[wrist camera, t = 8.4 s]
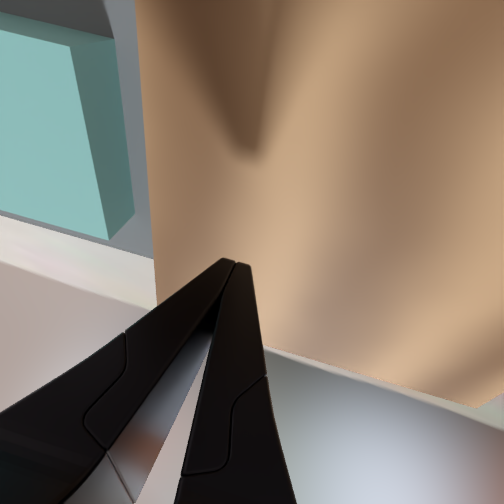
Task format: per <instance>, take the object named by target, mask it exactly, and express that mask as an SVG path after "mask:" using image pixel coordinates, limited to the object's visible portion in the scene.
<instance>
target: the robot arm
mask: <svg viewBox="0 0 504 504" xmlns="http://www.w3.org/2000/svg"><path fill="white" fill-rule="evenodd" d="M208 350H209V353H208V357H207V362H206V366H205V370H204V374H203V379H202V383H201V388H200V392H199V396H198V401H197V405H196V410H195V414H194V418H193V423H192V427H191V431H190V436H189V440H188V444H187V449H186V453H185V457H184V462H183V466H182V470H181V478H180V480H179V484H178V488H177V493H176V496H175V500H174V504H297V503H296V499H295V495H294V491H293V488H292V484H291V480H290V476H289V473H288V469H287V465H286V462H285V458H284V454H283V451H282V447H281V443H280V439H279V435H278V431H277V426H276V422H275V418H274V413H273V407H272V402H271V396H270V390H269V383H268V377H267V376H266V375H267V371H266V364H265V357H264V350H263V343H262V336H261V329H260V323H259V316H258V309H257V302H256V295H255V288H254V281H253V275H252V268H251V265H249V264H246V263H242V262H237V263H236V261H235V260H231V259H228V258H224V257H223V258H220V259H219V260H218V261H216V262H215V263H214V264H212V265H211V266H210V267H208V268H207V269H206V270H204V271H203V272H202V273H200V274H199V275H198V276H196V277H195V278H194V279H192V280H191V281H190V282H189V283H187V284H186V285H185V286H183V287H182V288H181V289H179V290H178V291H177V292H175V293H174V294H173V295H171V296H170V297H169V298H167V299H166V300H165V301H163V302H162V303H161V304H159V305H158V306H157V307H155V308H154V309H153V310H151V311H150V312H149V313H147V314H146V315H145V316H144V317H142V318H141V319H140V320H138V321H137V322H136V323H134V324H133V325H132V326H130V327H129V328H128V329H126V330H125V333H121V334H120V335H118V336H117V337H115V338H114V339H113V340H112V341H110V342H109V343H108V344H106V345H105V346H103V347H102V348H101V349H99V350H98V351H96V352H95V353H94V354H92V355H91V356H89V357H88V358H86V359H85V360H83V361H82V362H80V363H79V364H77V365H76V366H74V367H72V368H71V369H69V370H68V371H66V372H65V373H63V374H62V375H60V376H58V377H57V378H55V379H54V380H52V381H51V382H49V383H47V384H45V385H44V386H42V387H41V388H39V389H37V390H36V391H34V392H32V393H31V394H29V395H28V396H26V397H25V398H23V399H21V400H20V401H18V402H17V403H15V404H13V405H11V406H10V407H8V408H7V409H5V410H3V411H2V412H0V504H134V503H135V502H136V500H137V498H138V496H139V494H140V492H141V490H142V488H143V486H144V484H145V481H146V480H147V478H148V475H149V473H150V471H151V469H152V467H153V465H154V463H155V461H156V459H157V457H158V454H159V452H160V450H161V448H162V446H163V444H164V442H165V440H166V438H167V436H168V434H169V431H170V429H171V427H172V425H173V423H174V421H175V419H176V417H177V415H178V412H179V410H180V408H181V406H182V404H183V402H184V400H185V398H186V396H187V394H188V392H189V390H190V387H191V385H192V383H193V381H194V379H195V377H196V375H197V373H198V371H199V369H200V367H201V364H202V362H203V360H204V358H205V356H206V354H207V352H208Z"/></svg>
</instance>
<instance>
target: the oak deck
mask: <svg viewBox="0 0 504 504" xmlns="http://www.w3.org/2000/svg"><path fill="white" fill-rule="evenodd" d="M135 12H136V26H137V39H138V53H139V66H140V80H141V93H142V107H143V120H144V134H145V147H146V161H147V174H148V188H149V201H150V215H151V228H152V242H153V255H154V269H155V282H156V296H157V306H158V305H159V304H161V303H162V302H163V301H165V300H166V299H167V298H169V297H170V296H171V295H173V294H174V293H175V292H177V291H178V290H179V289H181V288H182V287H183V286H185V285H186V284H187V283H189V282H190V281H191V280H192V279H194V278H195V277H196V276H198V275H199V274H200V273H202V272H203V271H204V270H206V269H207V268H208V267H210V266H211V265H212V264H214V263H215V262H216V261H218V260H219V259H220V258H223V257H224V258H228V259H231V260H235V261H236V263H237V262H242V263H246V264H249V265H251V268H252V275H253V281H254V288H255V295H256V302H257V309H258V316H259V323H260V329H261V336H262V343H263V345H265V346H269V347H272V348H275V349H279V350H282V351H286V352H289V353H292V354H296V355H299V356H302V357H306V358H309V359H312V360H316V361H319V362H322V363H326V364H329V365H332V366H336V367H339V368H343V369H346V370H349V371H353V372H356V373H359V374H363V375H366V376H369V377H373V378H376V379H379V380H383V381H386V382H389V383H393V384H396V385H400V386H403V387H406V388H410V389H413V390H416V391H420V392H423V393H426V394H430V395H433V396H436V397H440V398H443V399H446V400H450V401H453V402H457V403H460V404H463V405H467V406H470V407H473V408H478V407H480V406H481V405H483V404H485V403H486V402H488V401H490V400H491V399H493V398H495V397H496V396H498V395H500V394H502V393H503V392H504V0H135Z"/></svg>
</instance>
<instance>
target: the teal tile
mask: <svg viewBox="0 0 504 504" xmlns="http://www.w3.org/2000/svg"><path fill="white" fill-rule="evenodd" d="M0 210H2V211H6V212H10V213H13V214H17V215H20V216H24V217H27V218H31V219H34V220H38V221H41V222H45V223H48V224H52V225H55V226H59V227H62V228H66V229H70V230H73V231H77V232H80V233H84V234H87V235H91V236H94V237H98V238H101V239H105V240H108V241H109V240H110V239H111V238H112V237H113V236H114V235H115V234H116V233H117V232H118V231H119V230H120V229H121V228H122V227H123V226H124V225H125V223H126V222H127V221H128V220H129V219H130V218H131V217H132V216H133V215H134V214H135V208H134V199H133V191H132V183H131V174H130V166H129V157H128V149H127V140H126V132H125V123H124V115H123V106H122V98H121V90H120V81H119V73H118V64H117V56H116V47H115V39H113V38H109V37H104V36H100V35H96V34H92V33H87V32H83V31H79V30H75V29H71V28H66V27H62V26H58V25H54V24H50V23H45V22H41V21H37V20H33V19H29V18H24V17H20V16H16V15H12V14H7V13H3V12H0Z"/></svg>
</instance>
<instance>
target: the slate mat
mask: <svg viewBox="0 0 504 504" xmlns="http://www.w3.org/2000/svg"><path fill="white" fill-rule="evenodd" d="M0 12H3V13H7V14H12V15H16V16H20V17H24V18H29V19H33V20H37V21H41V22H45V23H50V24H54V25H58V26H62V27H66V28H71V29H75V30H79V31H83V32H87V33H92V34H96V35H100V36H104V37H109V38H113V39H115V47H116V56H117V64H118V73H119V81H120V90H121V98H122V106H123V115H124V123H125V132H126V140H127V149H128V157H129V166H130V174H131V183H132V191H133V199H134V208H135V214H134V215H133V216H132V217H131V218H130V219H129V220H128V221H127V222H126V223H125V225H124V226H123V227H122V228H121V229H120V230H119V231H118V232H117V233H116V234H115V235H114V236H113V237H112V238H111V239H110V240H109V241H108V240H105V239H101V238H98V237H94V236H91V235H87V234H84V233H80V232H77V231H73V230H70V229H66V228H62V227H59V226H55V225H52V224H48V223H45V222H41V221H38V220H34V219H31V218H27V217H24V216H20V215H17V214H13V213H10V212H6V211H2V210H0V215H1V216H5V217H8V218H12V219H15V220H19V221H22V222H26V223H29V224H33V225H36V226H40V227H43V228H47V229H50V230H54V231H57V232H61V233H64V234H68V235H71V236H74V237H78V238H81V239H85V240H88V241H92V242H95V243H99V244H102V245H106V246H109V247H113V248H116V249H120V250H123V251H127V252H130V253H134V254H137V255H141V256H144V257H148V258H151V259H154V255H153V242H152V228H151V215H150V201H149V188H148V174H147V161H146V147H145V134H144V120H143V107H142V93H141V80H140V66H139V53H138V39H137V26H136V12H135V0H0Z"/></svg>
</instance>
